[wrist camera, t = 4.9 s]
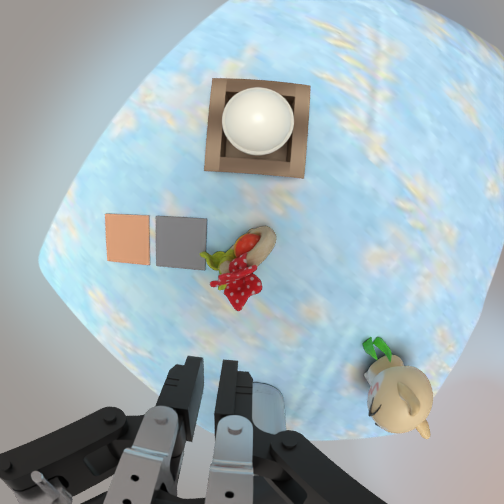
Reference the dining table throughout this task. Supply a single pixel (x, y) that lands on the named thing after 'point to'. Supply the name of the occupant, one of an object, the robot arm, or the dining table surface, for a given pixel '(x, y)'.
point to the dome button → (257, 121)
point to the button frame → (233, 160)
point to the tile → (128, 238)
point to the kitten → (397, 392)
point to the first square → (180, 242)
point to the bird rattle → (242, 265)
